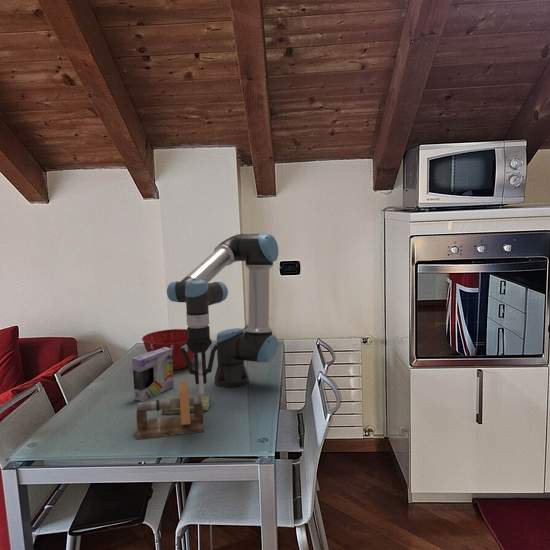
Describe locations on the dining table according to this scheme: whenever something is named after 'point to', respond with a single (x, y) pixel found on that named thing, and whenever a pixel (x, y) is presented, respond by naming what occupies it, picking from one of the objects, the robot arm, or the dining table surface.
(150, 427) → the rod stand
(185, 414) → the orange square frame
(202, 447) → the dining table surface
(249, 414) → the dining table surface
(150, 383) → the cake pan box
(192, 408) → the washcloth
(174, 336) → the mixing bowl
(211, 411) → the dining table surface
